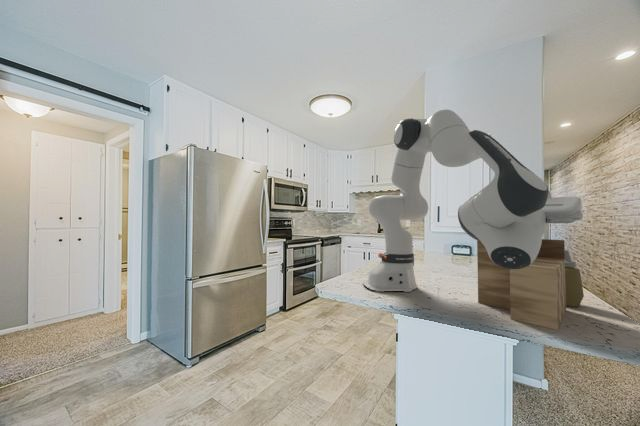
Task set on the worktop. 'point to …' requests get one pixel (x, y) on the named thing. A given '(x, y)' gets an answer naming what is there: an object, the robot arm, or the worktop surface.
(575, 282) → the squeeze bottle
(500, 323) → the worktop surface
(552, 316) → the stepped wooden blocks
